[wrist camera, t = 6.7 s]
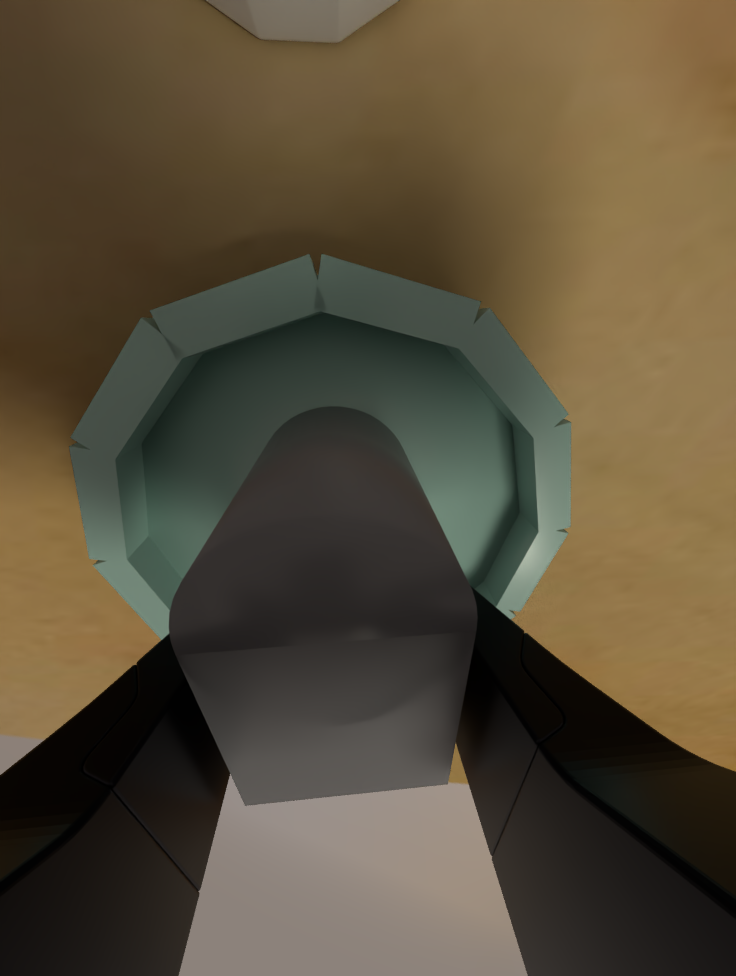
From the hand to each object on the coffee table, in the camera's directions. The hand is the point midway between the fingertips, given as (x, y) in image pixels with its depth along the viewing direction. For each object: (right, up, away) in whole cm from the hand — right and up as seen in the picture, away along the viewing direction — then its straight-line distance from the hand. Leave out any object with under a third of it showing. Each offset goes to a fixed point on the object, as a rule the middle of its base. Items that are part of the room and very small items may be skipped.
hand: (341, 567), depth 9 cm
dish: (0, +1, +2) cm, 3 cm away
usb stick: (0, 0, +1) cm, 1 cm away
